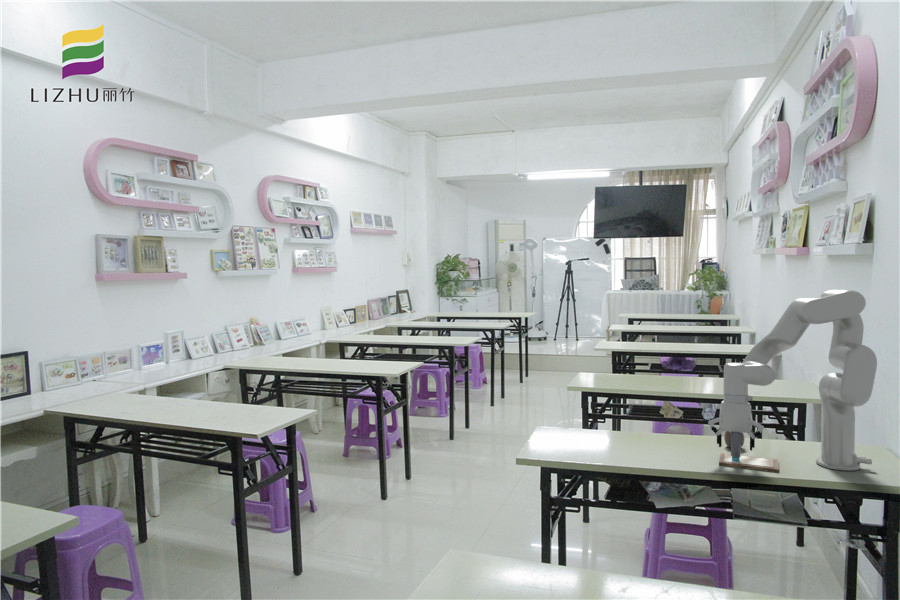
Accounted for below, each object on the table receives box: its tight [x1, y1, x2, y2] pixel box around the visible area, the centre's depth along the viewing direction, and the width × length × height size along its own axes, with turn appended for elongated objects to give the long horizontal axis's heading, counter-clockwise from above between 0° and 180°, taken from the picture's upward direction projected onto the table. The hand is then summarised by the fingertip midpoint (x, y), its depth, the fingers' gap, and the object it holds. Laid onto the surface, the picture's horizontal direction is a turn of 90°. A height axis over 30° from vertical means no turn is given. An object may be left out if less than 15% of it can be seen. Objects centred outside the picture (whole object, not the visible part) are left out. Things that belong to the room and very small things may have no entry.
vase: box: [723, 431, 745, 448], centre depth 221 cm, size 7×7×9 cm
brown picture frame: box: [718, 452, 780, 473], centre depth 201 cm, size 18×12×1 cm, turn 62°
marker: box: [730, 432, 742, 462], centre depth 200 cm, size 3×3×12 cm
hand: (735, 447), depth 201 cm, fingers open, 9 cm apart
